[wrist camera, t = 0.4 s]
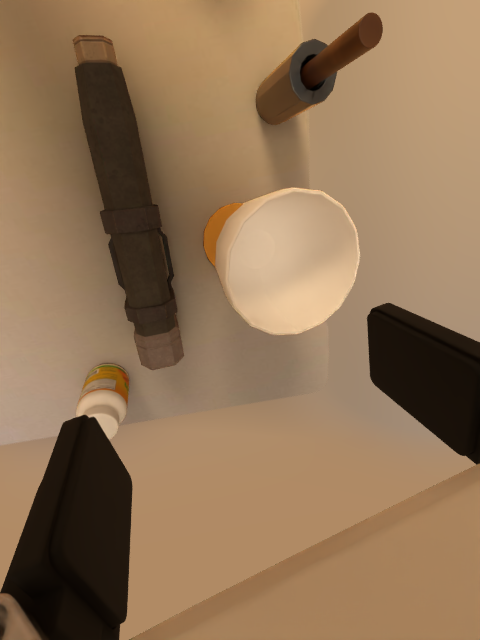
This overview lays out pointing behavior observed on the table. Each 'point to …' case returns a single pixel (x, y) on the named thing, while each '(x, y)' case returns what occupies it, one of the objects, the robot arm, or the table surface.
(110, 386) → the supplement bottle
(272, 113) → the holder
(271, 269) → the cup
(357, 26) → the stick
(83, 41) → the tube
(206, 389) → the table surface
